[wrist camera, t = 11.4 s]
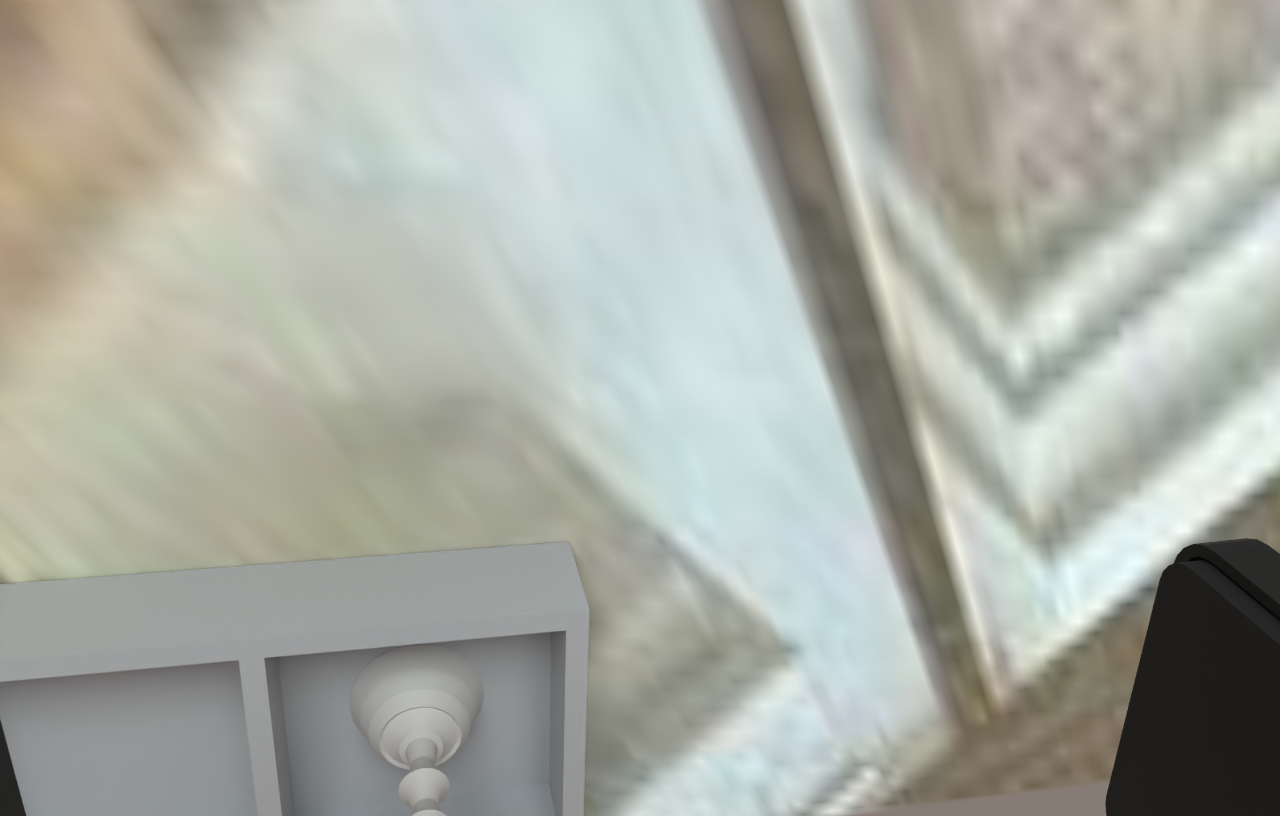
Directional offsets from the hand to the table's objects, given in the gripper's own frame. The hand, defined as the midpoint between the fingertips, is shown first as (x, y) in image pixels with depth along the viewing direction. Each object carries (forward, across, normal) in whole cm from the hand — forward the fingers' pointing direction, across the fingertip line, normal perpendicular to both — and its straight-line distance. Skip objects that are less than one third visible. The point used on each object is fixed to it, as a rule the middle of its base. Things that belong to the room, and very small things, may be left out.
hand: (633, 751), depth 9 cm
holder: (+30, +7, +22) cm, 38 cm away
